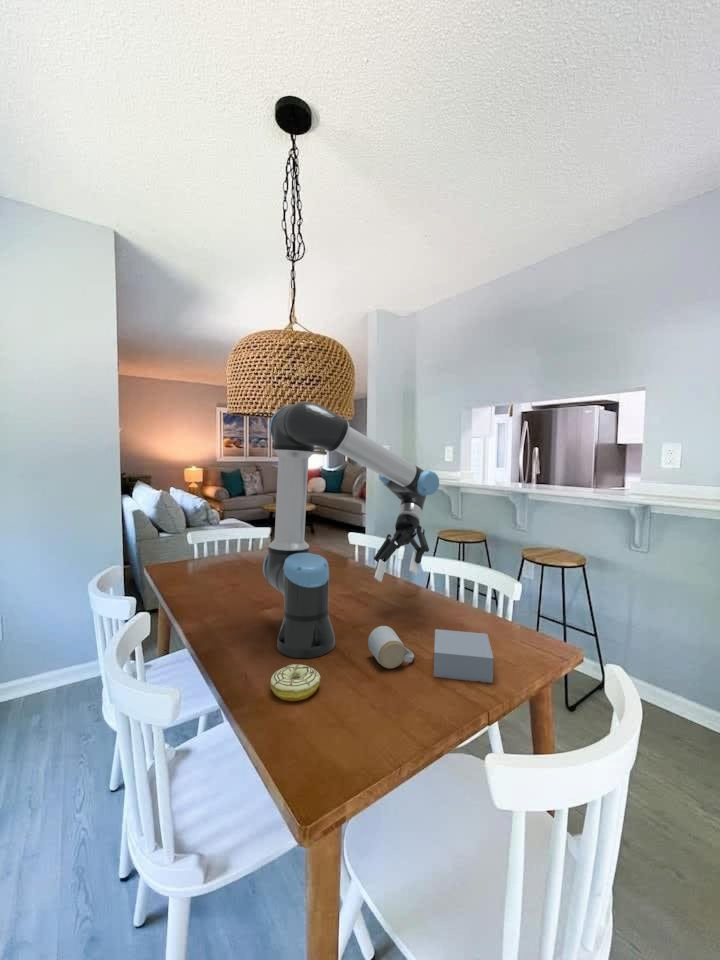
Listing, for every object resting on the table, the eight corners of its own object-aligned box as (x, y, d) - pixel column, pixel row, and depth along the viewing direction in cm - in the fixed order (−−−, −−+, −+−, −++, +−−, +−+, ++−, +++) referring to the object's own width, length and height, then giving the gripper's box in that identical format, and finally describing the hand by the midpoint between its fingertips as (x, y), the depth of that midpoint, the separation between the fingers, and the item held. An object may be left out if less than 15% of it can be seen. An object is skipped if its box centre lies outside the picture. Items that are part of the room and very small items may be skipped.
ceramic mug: (378, 673, 96) (379, 640, 96) (367, 656, 104) (367, 626, 103) (419, 667, 99) (420, 635, 99) (405, 651, 107) (406, 622, 107)
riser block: (433, 677, 95) (434, 652, 94) (434, 651, 107) (435, 629, 107) (492, 684, 92) (493, 658, 92) (486, 656, 105) (487, 633, 104)
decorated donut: (323, 677, 94) (323, 661, 94) (316, 705, 83) (316, 687, 83) (277, 675, 95) (278, 659, 94) (265, 703, 84) (265, 685, 84)
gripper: (446, 517, 129) (436, 576, 116) (387, 535, 145) (372, 588, 132) (432, 503, 126) (420, 561, 113) (373, 522, 142) (356, 576, 129)
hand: (394, 576), depth 122 cm, fingers open, 13 cm apart
